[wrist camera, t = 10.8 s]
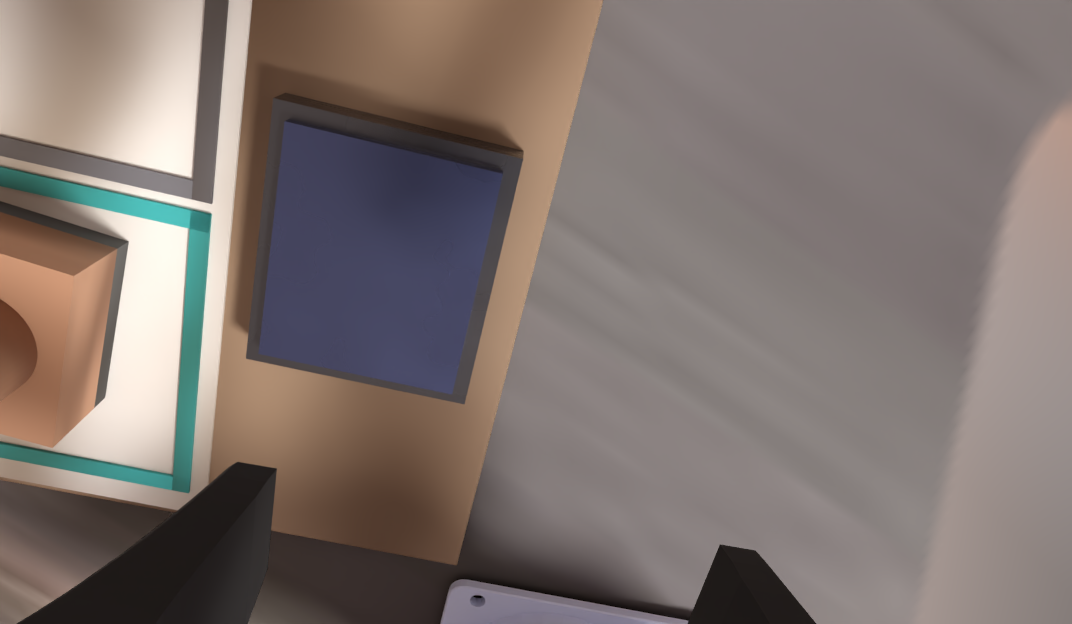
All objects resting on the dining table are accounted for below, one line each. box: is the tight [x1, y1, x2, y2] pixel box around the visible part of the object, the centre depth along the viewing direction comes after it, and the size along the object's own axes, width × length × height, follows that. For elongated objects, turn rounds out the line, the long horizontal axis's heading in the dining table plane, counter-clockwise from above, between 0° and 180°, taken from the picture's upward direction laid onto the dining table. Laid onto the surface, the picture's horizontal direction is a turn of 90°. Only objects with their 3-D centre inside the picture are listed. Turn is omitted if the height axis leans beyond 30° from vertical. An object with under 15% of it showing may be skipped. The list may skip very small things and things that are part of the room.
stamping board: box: [0, 0, 603, 565], centre depth 20 cm, size 18×20×1 cm
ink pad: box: [246, 93, 524, 405], centre depth 20 cm, size 6×7×1 cm
